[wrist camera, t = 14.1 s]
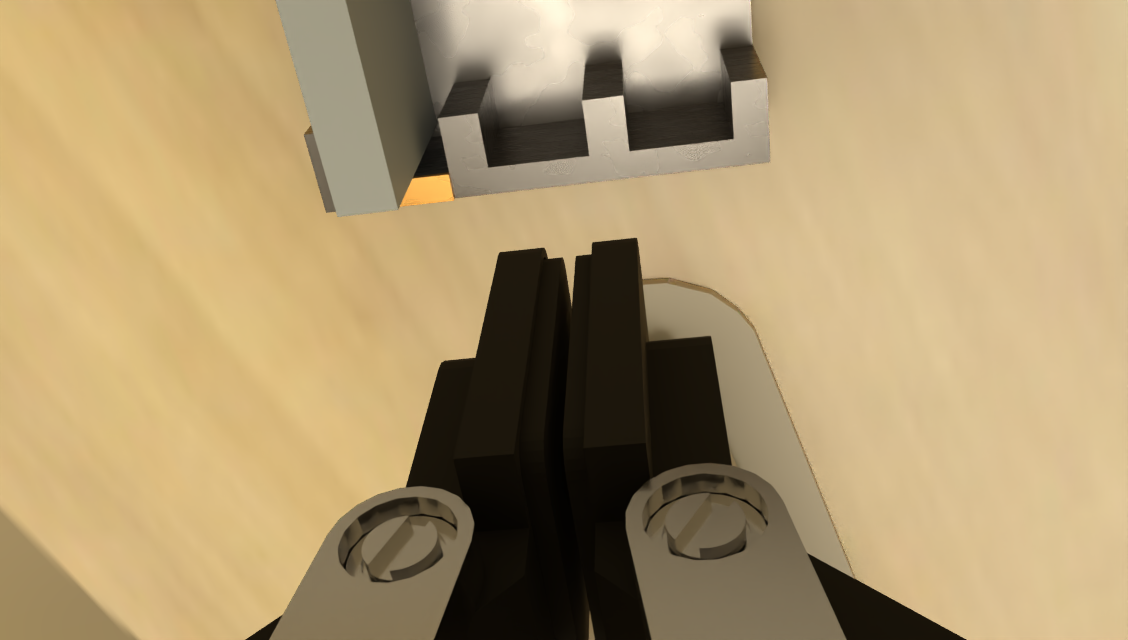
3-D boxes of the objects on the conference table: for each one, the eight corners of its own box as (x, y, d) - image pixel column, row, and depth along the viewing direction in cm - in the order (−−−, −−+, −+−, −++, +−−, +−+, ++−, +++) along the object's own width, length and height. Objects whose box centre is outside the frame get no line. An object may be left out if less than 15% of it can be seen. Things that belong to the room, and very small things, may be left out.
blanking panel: (367, -193, 32) (301, -173, 26) (437, 124, 38) (398, 210, 31) (309, -184, 33) (228, -161, 26) (387, 130, 38) (337, 217, 31)
